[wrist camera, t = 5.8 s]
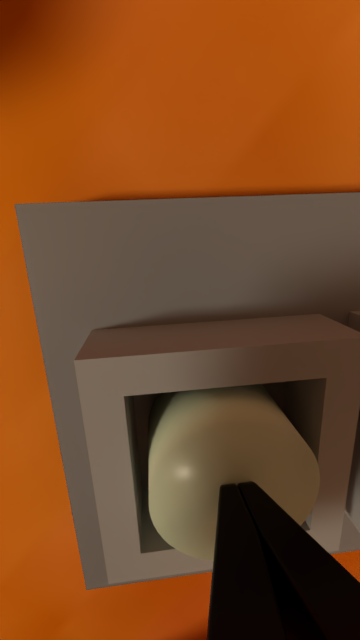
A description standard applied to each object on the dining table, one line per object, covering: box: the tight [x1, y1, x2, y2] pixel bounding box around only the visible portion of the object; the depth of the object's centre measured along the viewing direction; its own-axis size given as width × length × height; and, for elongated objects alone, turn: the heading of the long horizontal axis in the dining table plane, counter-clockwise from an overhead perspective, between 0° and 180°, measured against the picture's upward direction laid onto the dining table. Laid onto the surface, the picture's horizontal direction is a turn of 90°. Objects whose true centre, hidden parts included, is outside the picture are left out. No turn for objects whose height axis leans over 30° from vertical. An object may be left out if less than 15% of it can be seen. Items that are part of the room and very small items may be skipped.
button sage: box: [148, 384, 320, 561], centre depth 8 cm, size 4×4×3 cm
